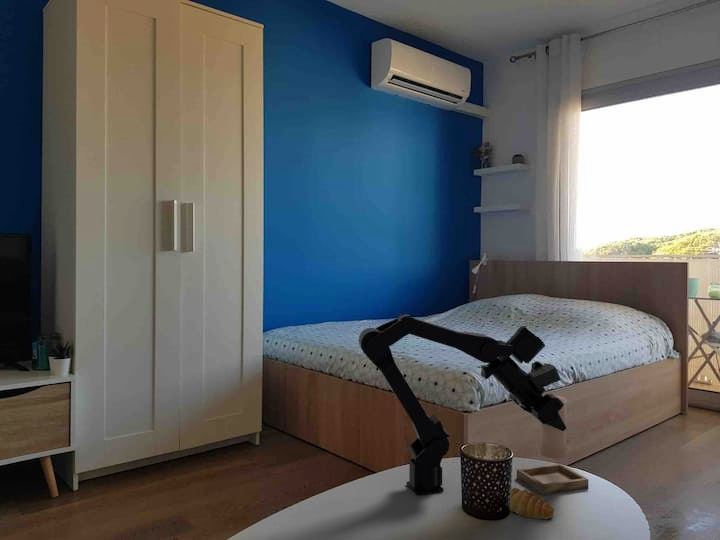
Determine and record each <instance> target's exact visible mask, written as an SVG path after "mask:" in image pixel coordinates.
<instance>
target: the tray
mask: <svg viewBox="0 0 720 540" xmlns="http://www.w3.org/2000/svg"><path fill="white" fill-rule="evenodd" d="M516 479H518V480H519V479H520V480H519V481H521V482H522V481H523V482H522V483H524V482H525V483H526V484H525V483H524V484H525V485H527V484H528V485H529V486H528V485H527V486H528V487H530V486H531V487H532V488H531V487H530V488H531V489H533V488H534V489H535V491H536V492H537V491H538V493H539V492H540V493H541V494H540V493H539V494H540V495H542V496H544V495H543V494H546V495H551V494H550V493H552V494H558V493H557V492H559V493H563V492H562V491H566V492H572V491H577V490H584V489H589V478H587V477H586V476H583V475H581V474H580V473H578V472H576V471H574V470H572V469H571V468H569V467H568V466H565V465H563V464H562V463H555V464H547V465H540V466H531V467H524V468H523V467H522V468H517V469H516ZM534 489H533V490H534Z"/></svg>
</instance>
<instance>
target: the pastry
mask: <svg viewBox="0 0 720 540" xmlns="http://www.w3.org/2000/svg"><path fill="white" fill-rule="evenodd" d="M510 490H511V493H510V510H509V511H510V512H512V513H513V512H514V513H516V514H517V515H519V516H522V517H524V516H525V517H527V518H531V519H536V520H548V519H551V517H553V516H554V513H555V509H554V507H553V505H551V504H550V503H549V501H548V500H546V499H544V498H543V497H542V496H538V495H537V494H536V493H535V492H534V491H528V490H527V489H522V490H521V489H519V488H518V487H513V488H511V489H510Z"/></svg>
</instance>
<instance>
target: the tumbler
mask: <svg viewBox="0 0 720 540" xmlns="http://www.w3.org/2000/svg"><path fill="white" fill-rule="evenodd" d="M553 395H554V396H556V397H558V398H559V399H560V400H561V401H562V402H563V403H564V405H563V407H562V408H561V409H560V410H559V411H558V413H559V415H560V417H561V419H562V421H563V422H564V424H565V426H566V427H567V404H568V402H567V401H568V399H567V397H565V396H562V395H556V394H553ZM566 449H567V428H566V429H565V430H564V431H561V430H559V429H557V428H554V427H552V426H550V425H547V424H542V423H541V422H540V454H541V456H543V457H544V458H545V457H546V458H548V459H553V460H554V459H555V460H557V459H558V460H560V459H564V458H566V455H567V453H566V452H567V450H566Z"/></svg>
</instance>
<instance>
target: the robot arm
mask: <svg viewBox="0 0 720 540" xmlns="http://www.w3.org/2000/svg"><path fill="white" fill-rule="evenodd" d="M408 335H412V336H415V337H418V338H421V339H425V340H429V341H431V342H435V343H438V344H441V345H445V346H447V347H450V348H452V349H453V348H454V349H457V350H458V351H460V352H462V353H464V354H466V355H468V356H470V357H472V358H474V359H475V360H478V361H480V362H482V363H485V364H481V365H480V368H481V370H480V371H481V372H480V376H481V377H483V378H484V379H485V380H489V379H490V377H491V376H492V377H493V378H495V379H496V380H497V382H498V383H500V384H501V386H502V387H503V389H504V390H505V391H506V392H508V393H509V399H510V400H511V401H512V402H513V403H514V404H515V405H517V406H520V409H522V410H523V411H524V412H525V411H526V412H528V413H530V414H531V415H532V416H533V417H534V418H535V420H537V421H538V422H539V423H540V424H541V423H542V424H547V425H550V426H552V427H554V428H557V429H559V430H561V431H564V430H565V429H566V430H567V425H566V426H565V424H564V422H563V421H562V419H561V417H560V415H559V413H558V411H559V410H560V409H561V408H562V407H563V405H564V403H563V402H562V401H561V400H560V399H559V398H558V397H556V396H554V395H555V394H553V393H546V394H544V395H543V393H544V392H546V388H545V387H547V386H550V385H552V384H553V383H554V384H555V383H558V382H560V381H561V379H562V378H561V377H560V374H559V371H558V370H557V367H556V366H555V365H553V364H551V363H546V362H545V363H543V364H542V363H541V362H540V361H538V360H536V361H534V362H532V361H533V360H534V359H535V357H536V356H537V355H538V354H539V353H540V352H541V351H543V349H544V348H545V347H546V344H545V342H544V341H543V340H542V339H541V338H540V337H539V336H537V335H535V334H534V333H533V332H532V331H530V329H528V328H527V327H526V326H523V325H521V326H520V327H519V328H518V329H517V330H516V332H515V333H514V334H512V336H511V337H510V338H509V339H508V340H507V341H506V342H505V341H503V340H501V339H498V340H497V339H494V338H493V337H490V336H489V335H486V334H484V333H478V332H471V331H457V330H454V329H451V328H447V327H445V326H442V325H438V324H435V323H431V322H429V321H426V320H422V319H418V318H415V317H413V316H411V315H409V314H401V315H400V316H398V317H397V318H394V319H391V320H390V321H387V322H385V323H383V324H381V325H379V326H377V327H375V328H374V327H367V328H365V329H363V330H362V331H361V332H360V334H359V336H358V344H359V347H360V348H361V350H362V352H363V354H364V355H365V356H366V357H367V358H368V359H369V360H370V361H371V362H372V364H373V365H374V366H375V367H376V368H377V369H378V370H379V371H380V372H381V373H382V375H383V376H384V379H385V380H386V381H387V383H388V385H389V386H390V389H392V391H393V393H394V395H395V396H396V398H397V399H398V401H399V402H400V404H401V405H402V407H403V409H404V410H405V412H406V414H407V415H408V417H409V419H410V420H411V423H412V425H413V429H414V431H415V435H416V438H415V439H414V440H413V441H412V442H411V443H410V445H408V449H409V451H410V454H411V456H412V457H413V458H411V459H409V473H408V475H409V481H406V485H407V486H408V487H409V488H410V489H411V491H412V492H413V493H414V494H416V495H419V496H421V495H427V494H435V493H440V492H444V491H445V489H444V488H443V486H442V485H443V467H442V466H441V463H442V460H443V457H444V456H445V455H447V453H448V452H449V449H450V445H451V444H450V441H449V439H448V438H450V437H451V435H449V433H448V432H447V430H446V429H445V428H444V427H443V424H442V422H441V420H440V419H439V417H437V415H436V414H435V413H433V414H432V415H430V416H429V415H428V414H427V413H426V411H425V409H424V408H423V406H422V405H421V403H420V401H419V399H418V398H417V396H416V394H415V393H414V392H413V390H412V388H411V387H410V385H409V384H408V383H409V382H407V380H406V379H405V377H404V376H403V374H402V372H401V371H400V369H399V367H398V366H397V364H396V362H395V358H394V356H393V353H392V351H391V350H392V349H391V348H390V347H391V346H393V345H395V344H396V343H398V342H399V341H400V340H401V339H403V338H404V337H406V336H408ZM514 360H515V361H516V362H518V363H519V364H521V365H522V364H523V363H525V364H530V363H531V362H532V363H531V369H530V372H526V371H525V370H523V369H522V368H521V366H519V365H518V364H517V363H516V362H515V361H514Z"/></svg>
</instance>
